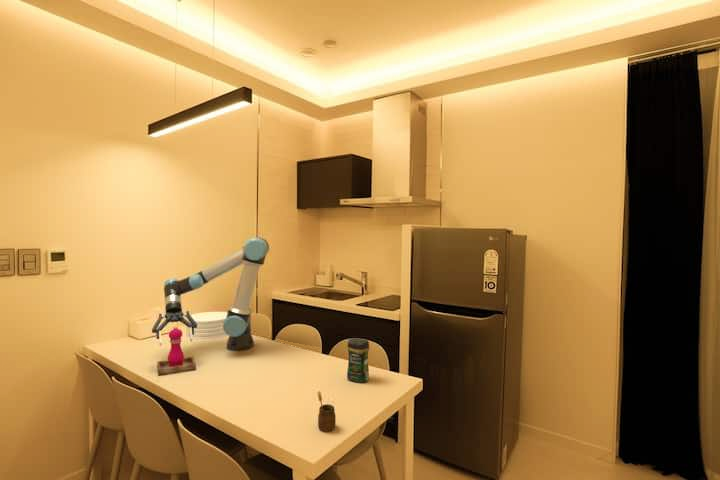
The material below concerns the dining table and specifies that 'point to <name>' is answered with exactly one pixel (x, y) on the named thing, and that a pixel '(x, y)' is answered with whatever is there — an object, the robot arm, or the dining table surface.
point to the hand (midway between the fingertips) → (176, 342)
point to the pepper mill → (175, 348)
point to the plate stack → (208, 325)
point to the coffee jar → (358, 360)
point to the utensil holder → (326, 416)
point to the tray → (176, 367)
